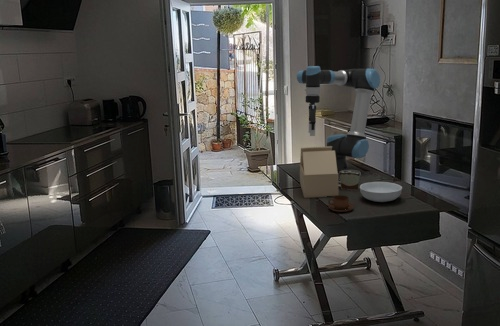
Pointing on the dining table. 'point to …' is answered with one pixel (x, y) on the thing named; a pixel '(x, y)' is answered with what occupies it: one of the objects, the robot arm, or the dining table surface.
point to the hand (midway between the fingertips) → (311, 134)
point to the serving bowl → (380, 191)
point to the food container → (349, 179)
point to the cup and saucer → (340, 204)
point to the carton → (318, 184)
